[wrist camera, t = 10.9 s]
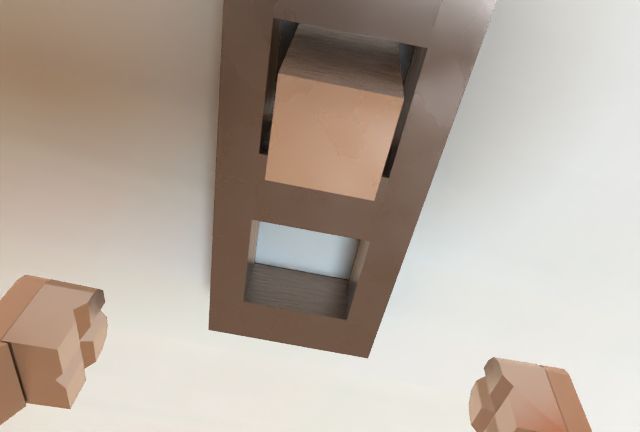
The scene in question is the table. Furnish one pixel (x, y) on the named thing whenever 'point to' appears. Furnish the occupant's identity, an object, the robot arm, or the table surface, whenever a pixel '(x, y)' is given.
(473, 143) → the table surface
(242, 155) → the rail
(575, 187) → the table surface
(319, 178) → the block
